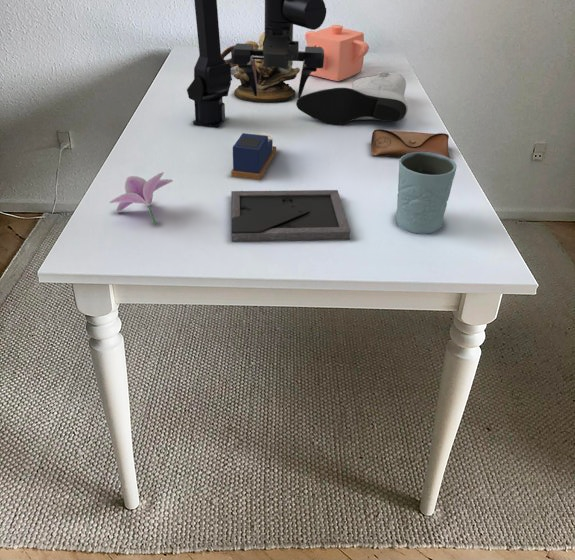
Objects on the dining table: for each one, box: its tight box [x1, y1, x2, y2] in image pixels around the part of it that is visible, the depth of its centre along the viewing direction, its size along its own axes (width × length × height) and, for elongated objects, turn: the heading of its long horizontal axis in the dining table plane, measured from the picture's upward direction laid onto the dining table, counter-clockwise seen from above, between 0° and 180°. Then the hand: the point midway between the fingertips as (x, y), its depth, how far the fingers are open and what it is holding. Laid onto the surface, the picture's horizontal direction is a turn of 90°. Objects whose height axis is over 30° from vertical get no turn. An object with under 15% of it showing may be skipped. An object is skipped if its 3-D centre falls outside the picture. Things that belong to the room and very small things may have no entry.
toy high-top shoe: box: [230, 132, 277, 181], centre depth 133 cm, size 15×6×7 cm, turn 168°
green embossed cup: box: [395, 152, 458, 235], centre depth 113 cm, size 10×10×12 cm
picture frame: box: [230, 189, 351, 242], centre depth 116 cm, size 16×2×21 cm
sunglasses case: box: [370, 128, 452, 159], centre depth 142 cm, size 18×7×7 cm
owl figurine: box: [233, 31, 301, 103], centre depth 166 cm, size 18×12×17 cm, turn 92°
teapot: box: [304, 24, 370, 82], centre depth 184 cm, size 20×22×14 cm
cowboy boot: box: [295, 72, 409, 126], centre depth 162 cm, size 10×28×25 cm
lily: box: [109, 171, 174, 225], centre depth 113 cm, size 12×12×10 cm
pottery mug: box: [221, 44, 237, 69], centre depth 188 cm, size 12×10×8 cm
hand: (277, 96), depth 132 cm, fingers open, 9 cm apart
